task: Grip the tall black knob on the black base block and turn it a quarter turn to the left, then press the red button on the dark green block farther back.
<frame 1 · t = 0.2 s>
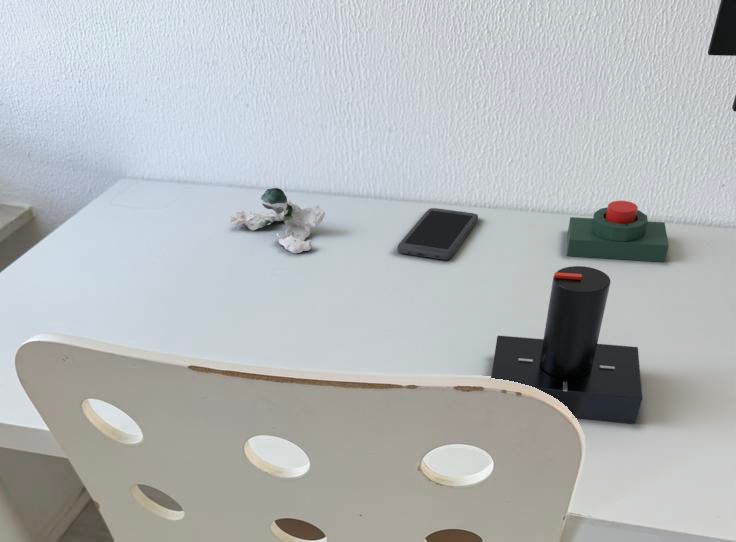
button: (621, 213, 97), point 4 cm above the table, slide at 0.1 cm
knob: (573, 321, 72), point 8 cm above the table, hinge at 0.0°
button block: (614, 247, 100), on the table
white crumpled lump: (279, 234, 107), on the table
black base block: (561, 390, 77), on the table
cell phone: (438, 236, 104), on the table
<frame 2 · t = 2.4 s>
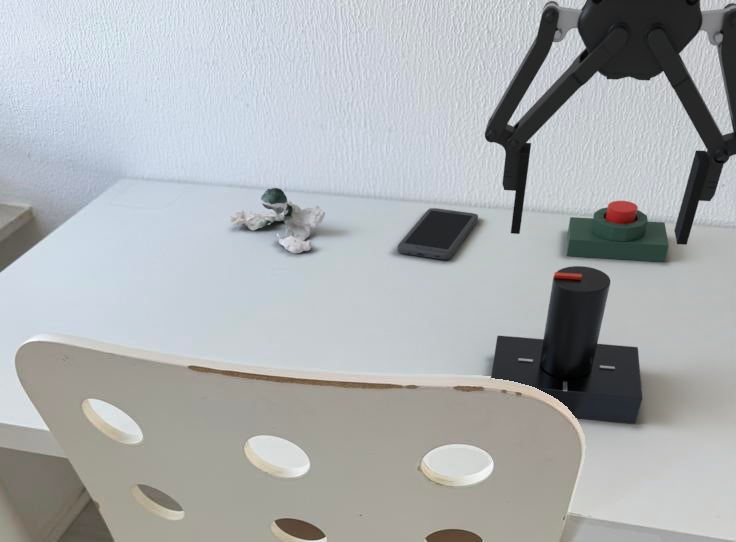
hand: (596, 232, 65), 16 cm above the table, tool pointing down, fingers open, 13 cm apart
nothing on the table moved.
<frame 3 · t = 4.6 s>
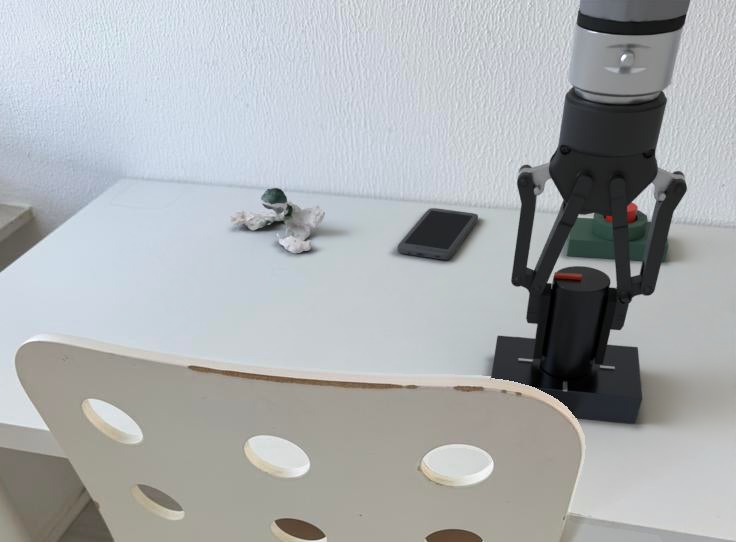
hand: (567, 353, 74), 4 cm above the table, tool pointing down, fingers closed on knob, 5 cm apart
knob: (573, 321, 72), point 8 cm above the table, hinge at 0.0°, touching gripper
everything else where it was.
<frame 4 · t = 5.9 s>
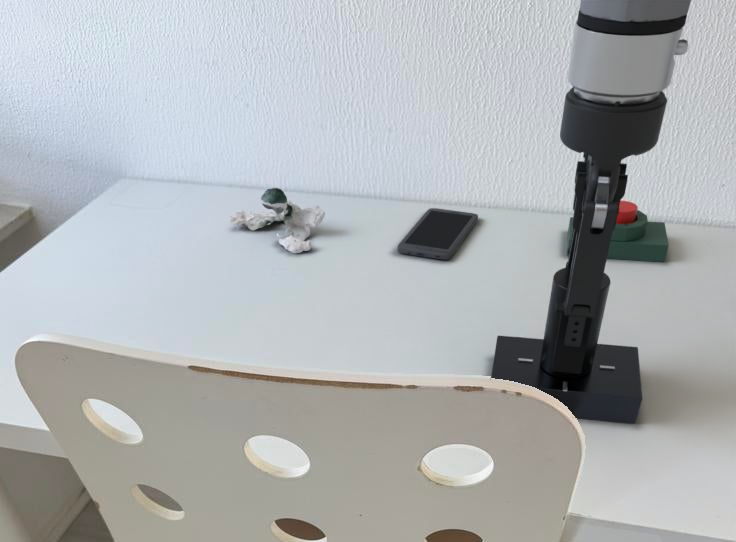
hand: (567, 353, 74), 4 cm above the table, tool pointing down, fingers closed on knob, 5 cm apart
knob: (573, 321, 72), point 8 cm above the table, hinge at 90.7°, touching gripper
everything else where it was.
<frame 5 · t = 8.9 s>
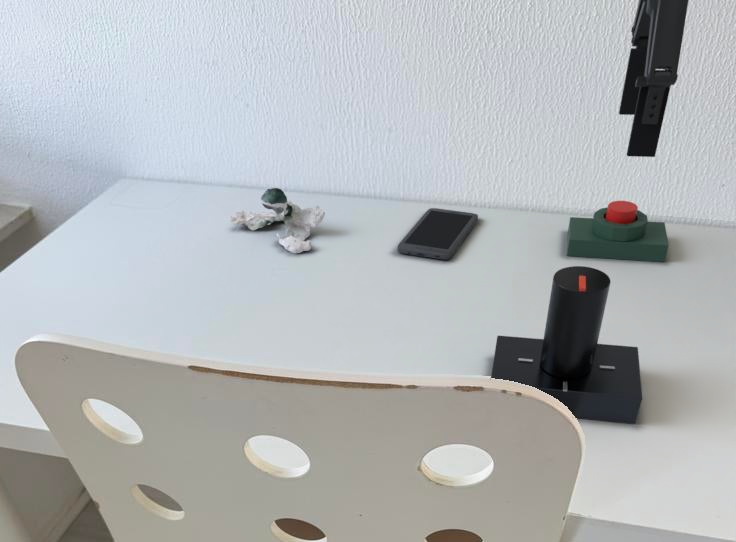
hand: (635, 133, 83), 16 cm above the table, tool pointing down, fingers open, 13 cm apart
knob: (573, 321, 72), point 8 cm above the table, hinge at 90.8°
everything else where it was.
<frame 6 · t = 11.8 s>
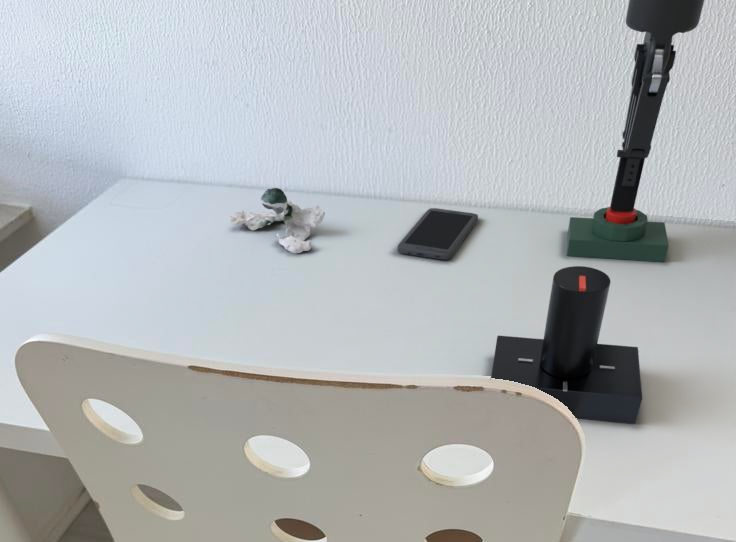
hand: (621, 208, 97), 5 cm above the table, tool pointing down, fingers closed
button: (620, 217, 97), point 4 cm above the table, slide at -0.4 cm, touching gripper
everything else where it was.
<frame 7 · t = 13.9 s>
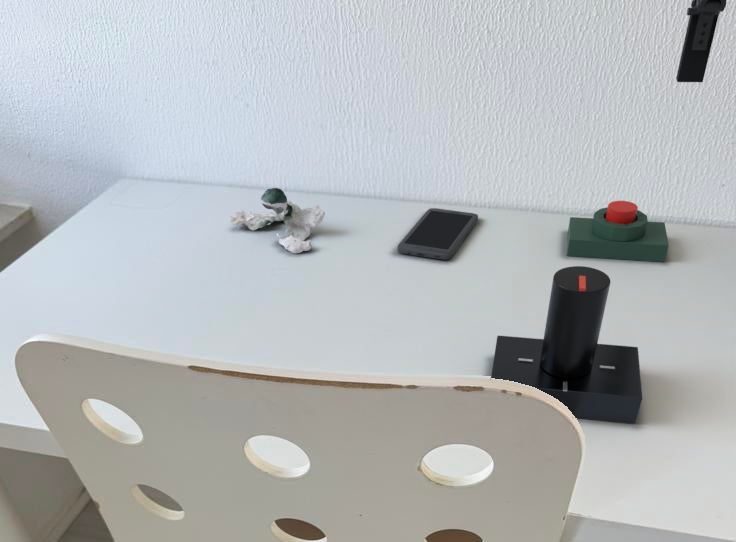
hand: (689, 80, 87), 19 cm above the table, tool pointing down, fingers closed
button: (621, 213, 97), point 4 cm above the table, slide at 0.1 cm
everything else where it was.
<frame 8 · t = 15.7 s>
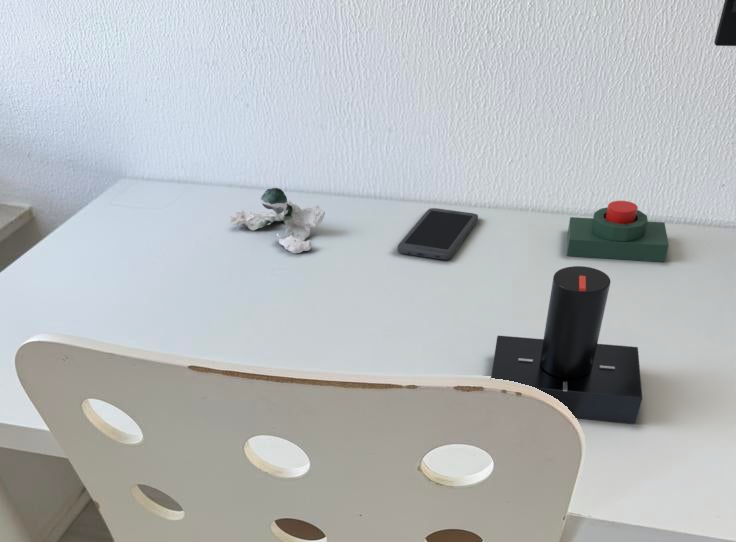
hand: (727, 44, 86), 22 cm above the table, tool pointing down, fingers closed
nothing on the table moved.
at the end: knob at +91° (first picture: +0°); button pushed in 1.0 cm at the most during the clip, back to where it started at the end; button slide at 0.1 cm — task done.
